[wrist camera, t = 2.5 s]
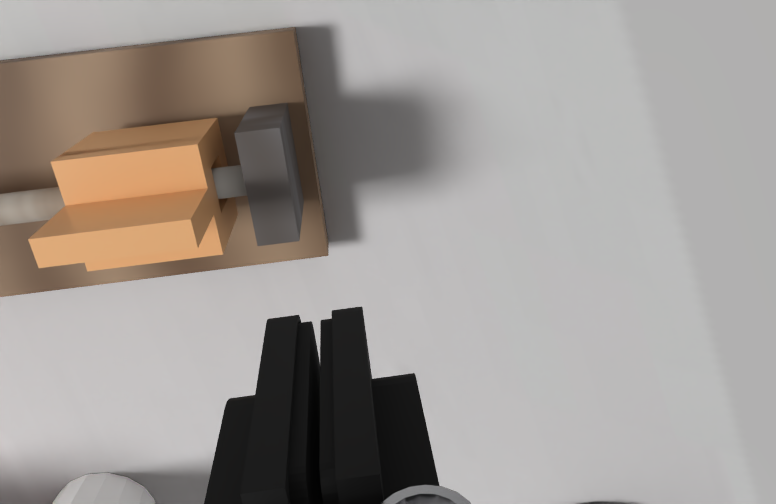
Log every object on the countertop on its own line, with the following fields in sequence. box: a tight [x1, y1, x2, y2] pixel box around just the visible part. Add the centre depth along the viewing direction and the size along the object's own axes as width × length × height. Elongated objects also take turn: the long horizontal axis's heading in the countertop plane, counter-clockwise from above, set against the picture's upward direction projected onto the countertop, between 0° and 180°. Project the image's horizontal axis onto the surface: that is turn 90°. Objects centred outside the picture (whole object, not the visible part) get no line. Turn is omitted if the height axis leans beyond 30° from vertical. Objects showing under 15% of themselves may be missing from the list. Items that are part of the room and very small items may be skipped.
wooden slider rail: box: [0, 27, 328, 297], centre depth 25 cm, size 24×10×8 cm, turn 96°
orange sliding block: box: [28, 118, 238, 272], centre depth 23 cm, size 5×4×7 cm
